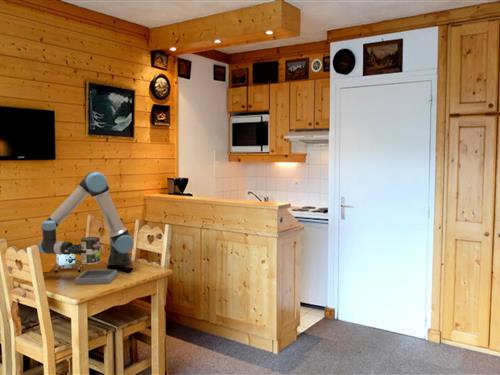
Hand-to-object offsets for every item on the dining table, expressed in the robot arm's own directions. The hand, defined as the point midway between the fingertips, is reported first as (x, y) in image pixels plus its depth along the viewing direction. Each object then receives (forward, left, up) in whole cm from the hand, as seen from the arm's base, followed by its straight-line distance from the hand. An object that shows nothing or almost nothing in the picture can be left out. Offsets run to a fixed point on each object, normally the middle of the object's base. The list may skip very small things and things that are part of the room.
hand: (97, 249), depth 263 cm
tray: (-1, -1, -18) cm, 18 cm away
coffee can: (-1, -4, -8) cm, 9 cm away
